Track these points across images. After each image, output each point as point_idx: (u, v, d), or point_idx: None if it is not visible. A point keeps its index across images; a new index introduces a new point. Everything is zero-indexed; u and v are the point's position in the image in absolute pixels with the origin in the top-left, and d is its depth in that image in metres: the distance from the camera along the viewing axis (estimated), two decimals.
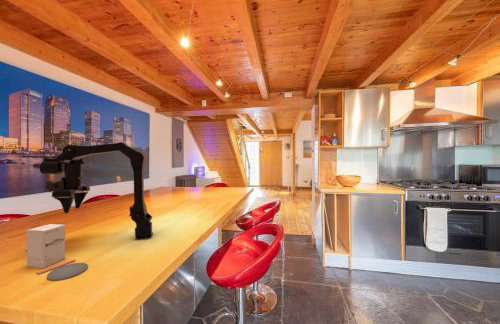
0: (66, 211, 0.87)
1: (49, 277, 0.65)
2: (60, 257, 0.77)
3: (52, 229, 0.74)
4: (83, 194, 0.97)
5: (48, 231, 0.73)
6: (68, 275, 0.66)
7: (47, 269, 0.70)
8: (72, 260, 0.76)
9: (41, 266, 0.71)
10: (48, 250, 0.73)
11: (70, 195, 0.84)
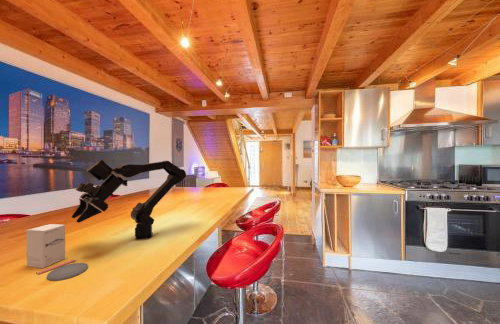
0: (79, 220, 0.78)
1: (49, 277, 0.65)
2: (60, 257, 0.77)
3: (52, 229, 0.74)
4: None
5: (48, 231, 0.73)
6: (68, 275, 0.66)
7: (47, 269, 0.70)
8: (72, 260, 0.76)
9: (41, 266, 0.71)
10: (48, 250, 0.73)
11: (104, 210, 0.81)
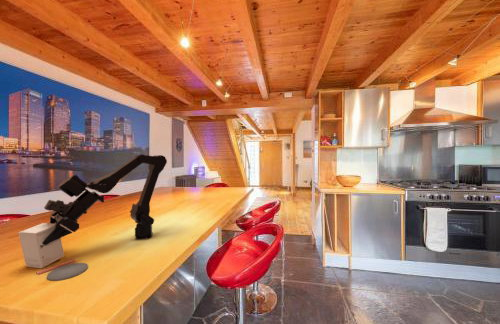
0: (46, 242, 0.71)
1: (49, 277, 0.65)
2: (58, 255, 0.76)
3: (44, 230, 0.72)
4: None
5: (40, 233, 0.71)
6: (68, 275, 0.66)
7: (47, 269, 0.70)
8: (72, 260, 0.76)
9: (40, 266, 0.71)
10: (44, 251, 0.72)
11: (75, 230, 0.74)
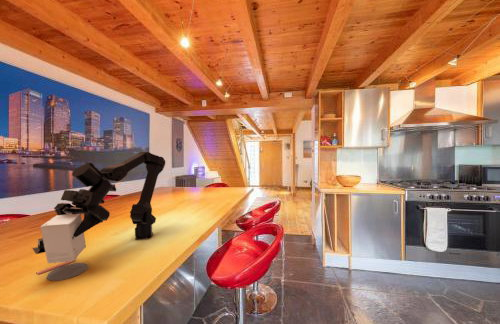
0: (77, 234, 0.67)
1: (49, 277, 0.65)
2: (83, 246, 0.71)
3: (73, 220, 0.67)
4: None
5: (71, 223, 0.65)
6: (68, 275, 0.66)
7: (47, 269, 0.70)
8: None
9: (71, 259, 0.66)
10: (75, 242, 0.67)
11: None
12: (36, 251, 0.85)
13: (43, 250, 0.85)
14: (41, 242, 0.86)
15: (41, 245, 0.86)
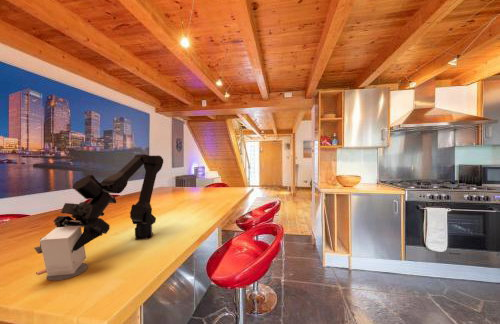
0: (77, 248, 0.66)
1: (49, 277, 0.65)
2: (83, 258, 0.71)
3: (73, 234, 0.66)
4: None
5: (71, 237, 0.65)
6: (68, 275, 0.66)
7: None
8: None
9: (70, 272, 0.66)
10: (74, 255, 0.67)
11: None
12: (38, 250, 0.85)
13: None
14: None
15: None
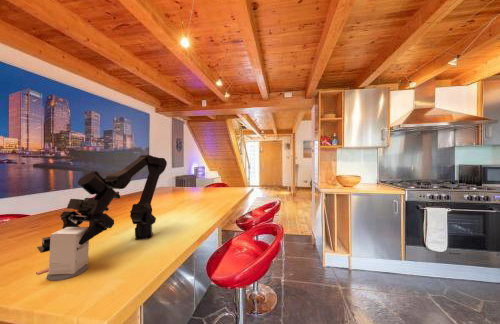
0: (83, 242, 0.68)
1: (49, 277, 0.65)
2: (85, 261, 0.72)
3: (81, 232, 0.69)
4: None
5: (79, 234, 0.68)
6: (68, 275, 0.66)
7: (47, 269, 0.70)
8: None
9: (71, 272, 0.66)
10: (78, 254, 0.68)
11: None
12: (40, 250, 0.86)
13: (47, 249, 0.86)
14: (45, 241, 0.87)
15: (45, 244, 0.87)
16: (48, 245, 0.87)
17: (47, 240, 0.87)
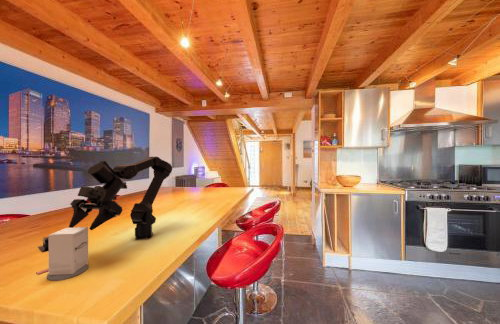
0: (93, 227, 0.72)
1: (49, 277, 0.65)
2: (85, 261, 0.72)
3: (79, 232, 0.69)
4: (86, 214, 0.79)
5: (76, 234, 0.68)
6: (68, 275, 0.66)
7: (47, 269, 0.70)
8: None
9: (70, 272, 0.66)
10: (77, 255, 0.68)
11: None
12: (41, 250, 0.86)
13: (48, 249, 0.87)
14: (46, 241, 0.87)
15: (46, 244, 0.87)
16: None
17: None
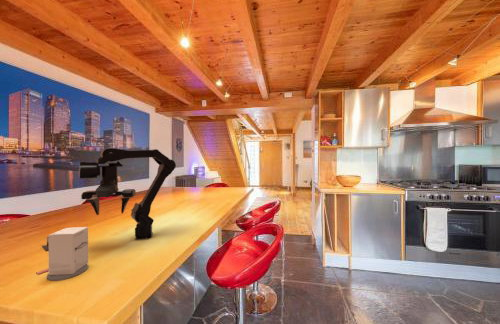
0: (123, 211, 0.93)
1: (49, 277, 0.65)
2: (85, 261, 0.72)
3: (79, 232, 0.69)
4: (98, 199, 0.92)
5: (76, 234, 0.68)
6: (68, 275, 0.66)
7: (47, 269, 0.70)
8: None
9: (70, 272, 0.66)
10: (77, 255, 0.68)
11: None
12: (45, 249, 0.87)
13: None
14: None
15: None
16: None
17: None
